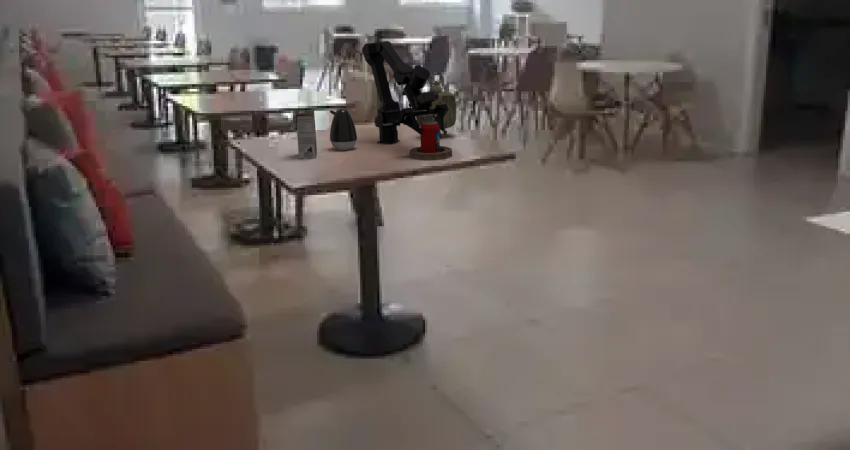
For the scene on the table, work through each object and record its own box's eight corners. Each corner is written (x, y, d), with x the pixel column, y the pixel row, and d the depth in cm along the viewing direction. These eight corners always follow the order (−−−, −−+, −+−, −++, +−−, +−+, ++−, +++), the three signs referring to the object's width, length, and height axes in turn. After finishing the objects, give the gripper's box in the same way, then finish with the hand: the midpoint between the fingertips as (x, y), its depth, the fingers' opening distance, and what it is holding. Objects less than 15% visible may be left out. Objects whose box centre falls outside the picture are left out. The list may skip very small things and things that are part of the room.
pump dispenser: (339, 145, 315) (337, 105, 311) (362, 147, 311) (360, 107, 306) (324, 150, 307) (322, 109, 302) (348, 152, 302) (345, 111, 298)
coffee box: (299, 153, 302) (296, 110, 297) (317, 153, 302) (314, 109, 298) (298, 159, 293) (295, 114, 289) (316, 158, 294) (313, 113, 289)
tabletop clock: (446, 133, 334) (445, 71, 327) (459, 136, 327) (458, 73, 319) (416, 137, 327) (414, 74, 320) (427, 140, 319) (426, 76, 312)
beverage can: (442, 156, 292) (442, 122, 288) (425, 158, 289) (424, 124, 286) (435, 152, 298) (434, 119, 294) (418, 154, 295) (417, 121, 292)
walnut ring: (401, 157, 291) (401, 152, 291) (424, 149, 303) (424, 144, 303) (437, 161, 284) (437, 155, 283) (459, 153, 296) (459, 147, 295)
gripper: (400, 85, 285) (417, 121, 279) (445, 80, 294) (463, 115, 288) (390, 105, 294) (406, 140, 288) (434, 100, 303) (451, 134, 297)
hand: (432, 132), depth 290 cm, fingers open, 9 cm apart
